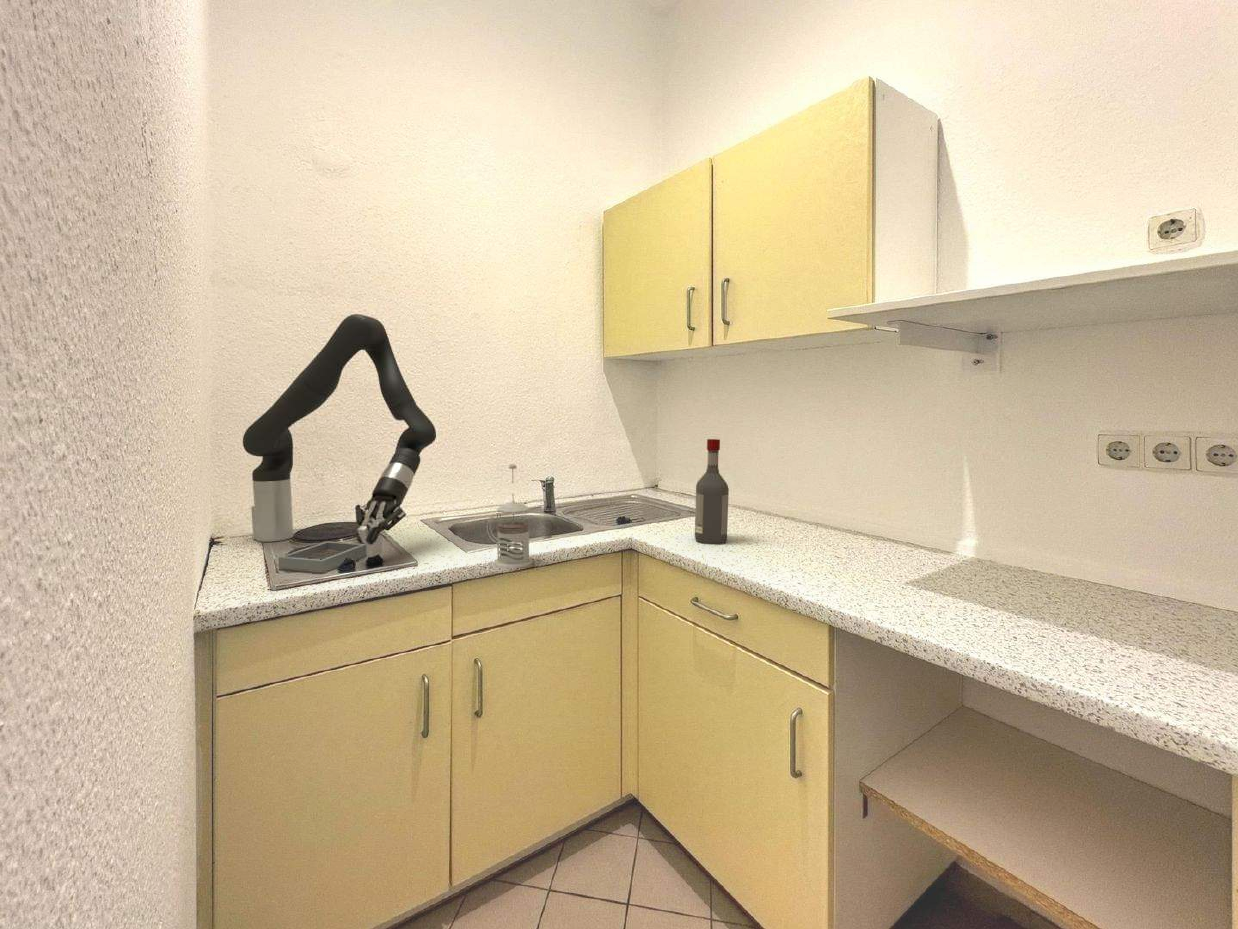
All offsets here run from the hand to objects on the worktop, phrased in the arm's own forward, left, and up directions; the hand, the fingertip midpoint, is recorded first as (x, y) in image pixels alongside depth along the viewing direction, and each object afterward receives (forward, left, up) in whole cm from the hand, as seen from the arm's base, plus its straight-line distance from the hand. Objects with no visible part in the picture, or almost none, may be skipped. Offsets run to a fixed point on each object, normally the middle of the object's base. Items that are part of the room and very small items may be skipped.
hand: (364, 542), depth 135 cm
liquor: (+79, +50, -7) cm, 94 cm away
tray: (-13, +2, -6) cm, 14 cm away
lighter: (0, +2, -4) cm, 5 cm away
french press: (+31, +14, -7) cm, 35 cm away
